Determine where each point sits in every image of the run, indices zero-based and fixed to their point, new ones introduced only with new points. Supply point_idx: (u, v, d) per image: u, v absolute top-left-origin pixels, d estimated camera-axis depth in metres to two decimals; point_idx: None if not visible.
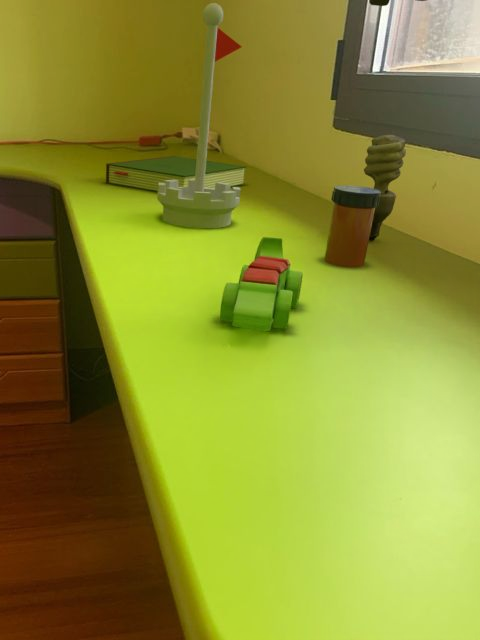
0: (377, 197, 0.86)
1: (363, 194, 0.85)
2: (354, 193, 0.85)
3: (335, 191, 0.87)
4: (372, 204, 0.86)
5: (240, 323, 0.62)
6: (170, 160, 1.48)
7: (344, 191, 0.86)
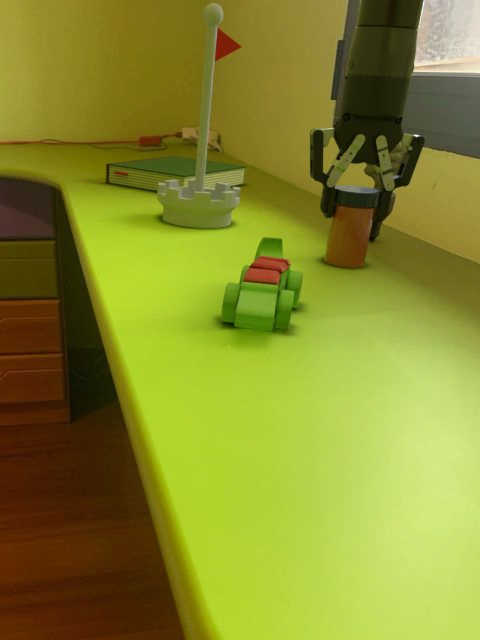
0: (377, 197, 0.86)
1: (363, 194, 0.85)
2: (354, 193, 0.85)
3: None
4: (372, 204, 0.86)
5: (242, 323, 0.62)
6: (170, 160, 1.48)
7: (344, 191, 0.86)
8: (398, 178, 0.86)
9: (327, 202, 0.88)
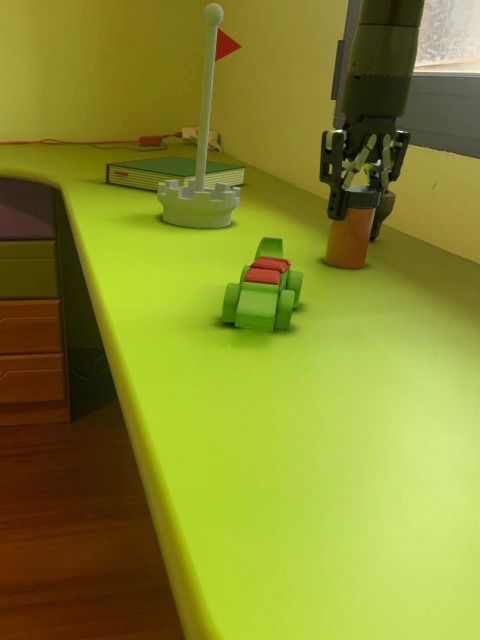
0: None
1: (376, 194, 0.85)
2: (369, 194, 0.85)
3: None
4: (378, 202, 0.87)
5: (243, 323, 0.62)
6: (170, 160, 1.48)
7: (358, 193, 0.85)
8: (388, 174, 0.88)
9: (339, 205, 0.85)
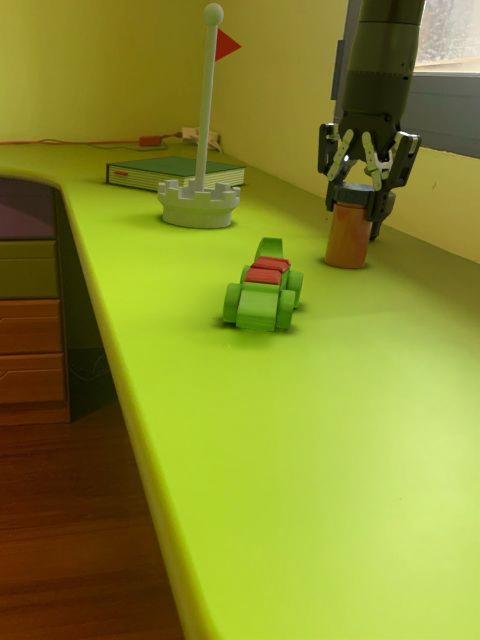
0: None
1: None
2: None
3: None
4: None
5: (244, 323, 0.62)
6: (170, 160, 1.48)
7: None
8: None
9: None
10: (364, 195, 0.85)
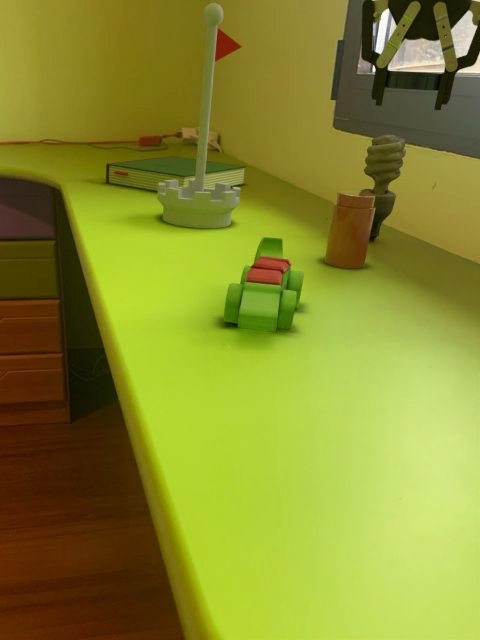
0: None
1: None
2: None
3: None
4: None
5: (246, 324, 0.62)
6: (170, 160, 1.48)
7: None
8: None
9: None
10: (435, 79, 0.75)
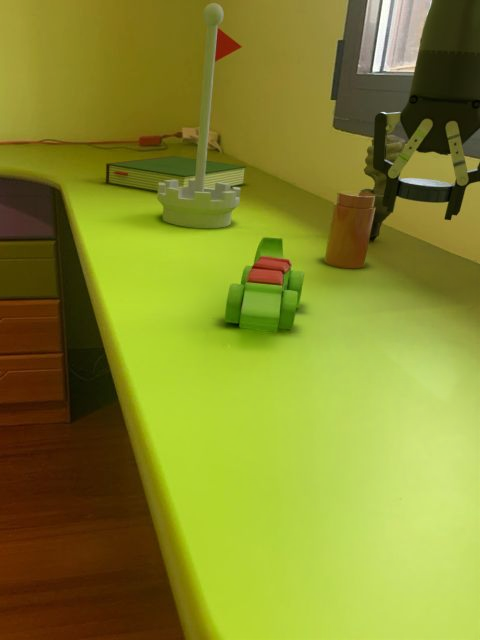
0: None
1: (425, 180, 0.80)
2: (435, 181, 0.80)
3: None
4: None
5: (247, 324, 0.62)
6: (170, 160, 1.48)
7: (445, 183, 0.79)
8: None
9: None
10: (447, 192, 0.76)
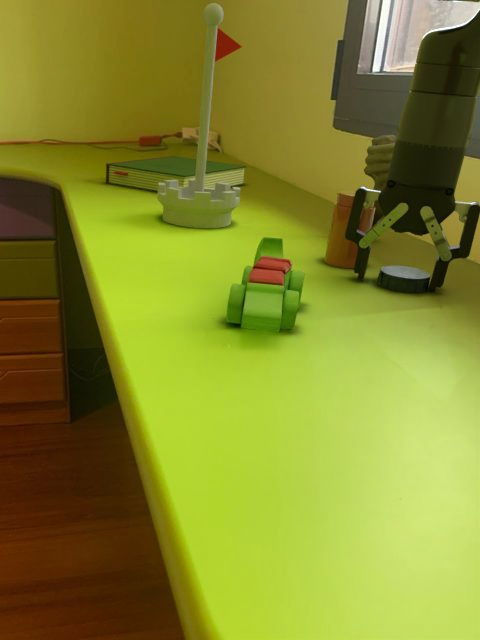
0: None
1: None
2: None
3: None
4: None
5: (249, 324, 0.62)
6: (170, 160, 1.48)
7: (423, 271, 0.84)
8: (358, 231, 0.83)
9: None
10: (424, 283, 0.81)
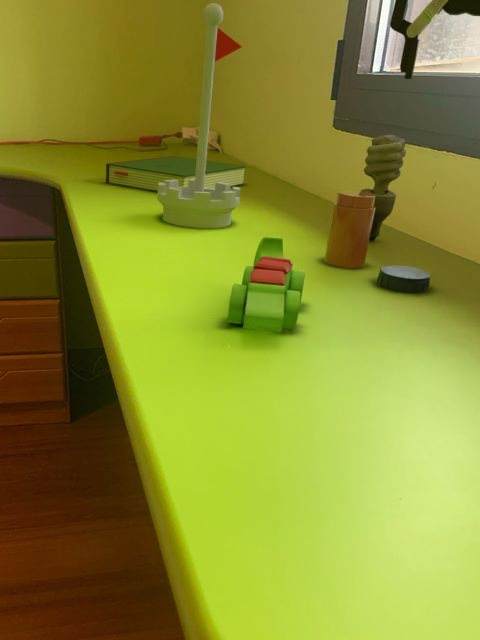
0: None
1: None
2: None
3: None
4: None
5: (251, 325, 0.61)
6: (170, 160, 1.48)
7: (423, 271, 0.84)
8: None
9: None
10: (424, 283, 0.81)
